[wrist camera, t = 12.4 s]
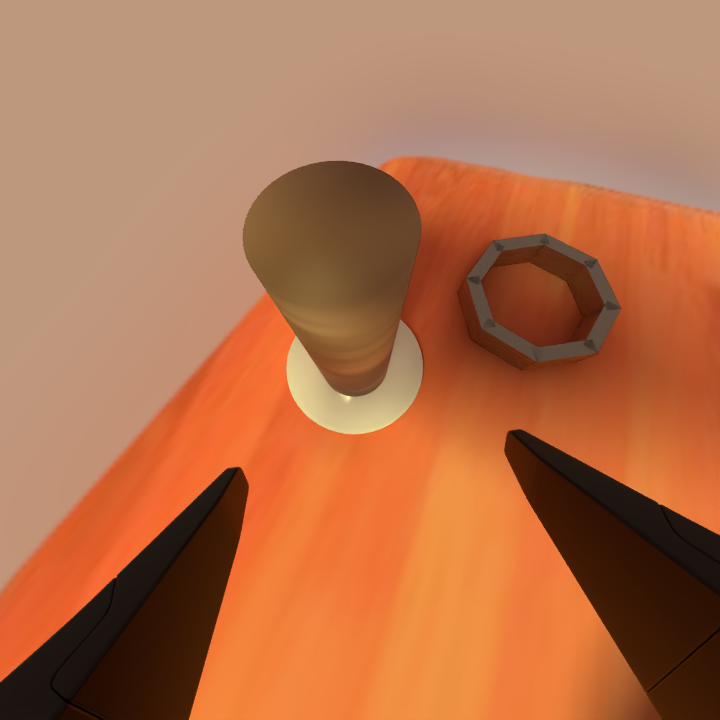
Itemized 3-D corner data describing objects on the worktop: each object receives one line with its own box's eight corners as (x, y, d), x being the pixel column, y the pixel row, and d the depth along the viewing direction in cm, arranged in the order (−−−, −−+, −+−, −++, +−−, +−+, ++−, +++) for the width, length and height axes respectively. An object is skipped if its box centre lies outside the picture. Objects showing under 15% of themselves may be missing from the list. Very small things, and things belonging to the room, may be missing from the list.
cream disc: (446, 352, 20) (449, 349, 20) (369, 465, 18) (369, 465, 17) (343, 285, 22) (342, 281, 22) (261, 379, 20) (258, 377, 19)
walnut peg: (398, 351, 20) (449, 194, 7) (368, 408, 19) (369, 337, 6) (342, 323, 21) (303, 142, 8) (310, 377, 19) (206, 258, 7)
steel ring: (612, 293, 21) (636, 278, 19) (558, 393, 19) (579, 388, 17) (499, 234, 23) (510, 216, 21) (438, 318, 21) (444, 306, 19)
